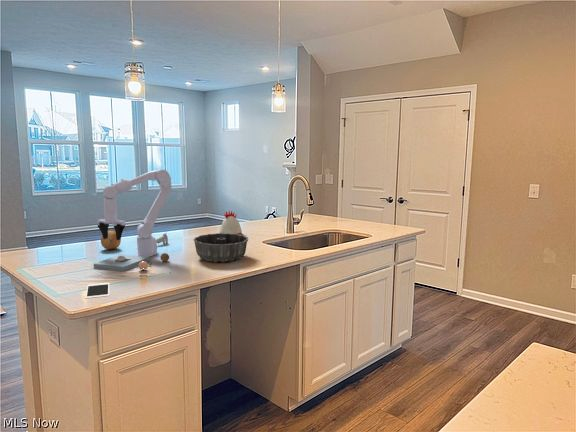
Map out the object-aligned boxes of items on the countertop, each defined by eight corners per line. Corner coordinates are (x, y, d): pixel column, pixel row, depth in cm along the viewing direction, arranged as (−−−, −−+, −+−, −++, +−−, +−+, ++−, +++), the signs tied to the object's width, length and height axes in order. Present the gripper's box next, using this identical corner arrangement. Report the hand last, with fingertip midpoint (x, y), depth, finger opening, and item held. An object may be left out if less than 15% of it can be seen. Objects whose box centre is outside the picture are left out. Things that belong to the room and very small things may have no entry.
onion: (104, 252, 214) (103, 233, 213) (98, 249, 222) (97, 230, 220) (123, 249, 220) (122, 231, 219) (117, 246, 228) (116, 228, 226)
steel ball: (123, 264, 194) (119, 256, 194) (129, 261, 192) (125, 253, 192) (116, 266, 190) (113, 258, 190) (123, 263, 189) (119, 255, 189)
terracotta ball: (142, 268, 185) (142, 259, 184) (150, 269, 184) (149, 260, 183) (136, 271, 181) (136, 262, 180) (144, 272, 180) (144, 262, 179)
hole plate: (121, 258, 202) (121, 254, 202) (149, 261, 198) (149, 257, 197) (93, 267, 185) (93, 263, 185) (123, 271, 181) (123, 266, 180)
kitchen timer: (217, 233, 268) (216, 210, 265) (237, 231, 273) (237, 209, 271) (223, 237, 255) (222, 213, 253) (244, 235, 261) (244, 211, 259)
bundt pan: (259, 256, 209) (259, 236, 208) (225, 268, 187) (225, 246, 185) (218, 249, 223) (217, 231, 221) (182, 260, 200) (181, 239, 199)
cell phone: (109, 284, 164) (109, 282, 164) (109, 297, 150) (109, 295, 150) (87, 286, 162) (87, 284, 161) (85, 299, 147) (85, 298, 147)
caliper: (166, 243, 237) (166, 232, 236) (168, 243, 237) (167, 233, 236) (138, 250, 219) (137, 239, 218) (139, 251, 219) (139, 239, 218)
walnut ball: (163, 260, 200) (163, 251, 199) (171, 260, 199) (170, 252, 198) (158, 262, 196) (158, 253, 195) (166, 262, 195) (165, 254, 194)
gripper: (91, 211, 198) (93, 239, 200) (117, 213, 193) (118, 241, 195) (102, 209, 204) (104, 236, 206) (127, 211, 200) (129, 238, 202)
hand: (112, 239), depth 201 cm, fingers open, 7 cm apart
